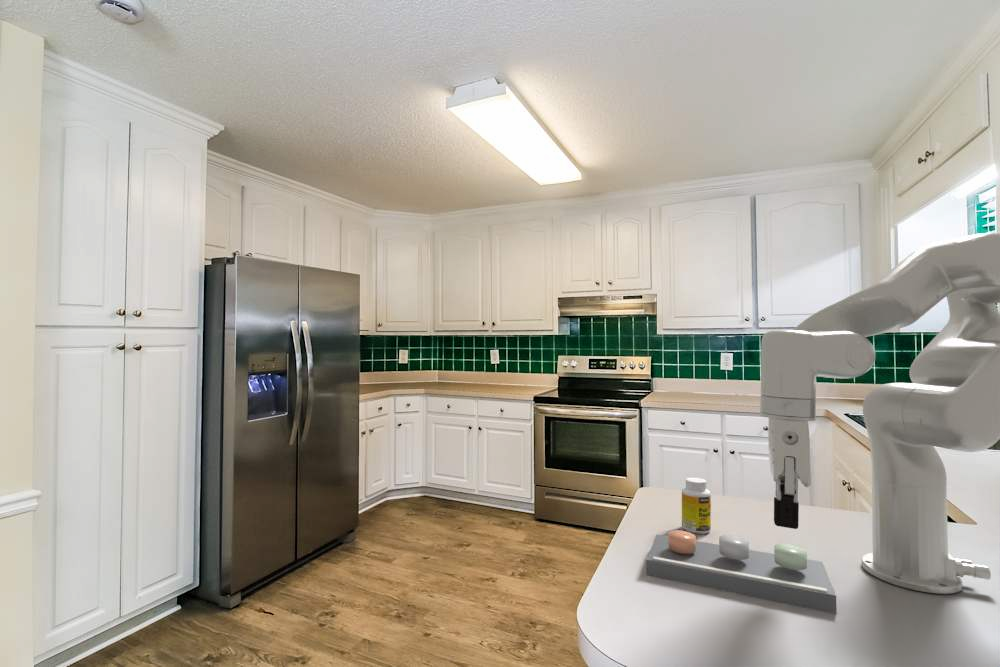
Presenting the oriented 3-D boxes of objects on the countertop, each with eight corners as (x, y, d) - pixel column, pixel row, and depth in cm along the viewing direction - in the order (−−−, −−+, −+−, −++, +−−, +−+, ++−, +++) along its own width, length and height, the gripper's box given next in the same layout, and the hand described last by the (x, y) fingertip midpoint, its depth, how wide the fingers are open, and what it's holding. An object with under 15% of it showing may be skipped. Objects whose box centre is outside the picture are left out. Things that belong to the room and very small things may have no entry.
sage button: (805, 560, 77) (804, 546, 77) (809, 572, 73) (808, 557, 73) (773, 555, 79) (773, 541, 79) (775, 566, 75) (775, 552, 75)
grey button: (748, 551, 80) (748, 537, 80) (749, 561, 76) (749, 547, 76) (719, 546, 82) (719, 533, 82) (718, 556, 78) (718, 542, 78)
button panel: (822, 577, 79) (822, 560, 79) (836, 613, 68) (836, 593, 68) (656, 547, 90) (656, 532, 90) (646, 575, 79) (646, 558, 79)
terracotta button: (696, 545, 84) (696, 533, 84) (694, 555, 80) (694, 542, 80) (670, 541, 86) (670, 528, 86) (666, 550, 82) (666, 537, 82)
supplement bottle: (700, 537, 95) (699, 485, 96) (676, 528, 100) (675, 478, 100) (716, 531, 98) (716, 480, 99) (692, 523, 103) (692, 474, 103)
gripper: (823, 415, 68) (822, 547, 67) (808, 406, 81) (807, 516, 81) (762, 411, 71) (761, 537, 71) (758, 402, 85) (756, 508, 84)
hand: (785, 525), depth 76 cm, fingers closed
